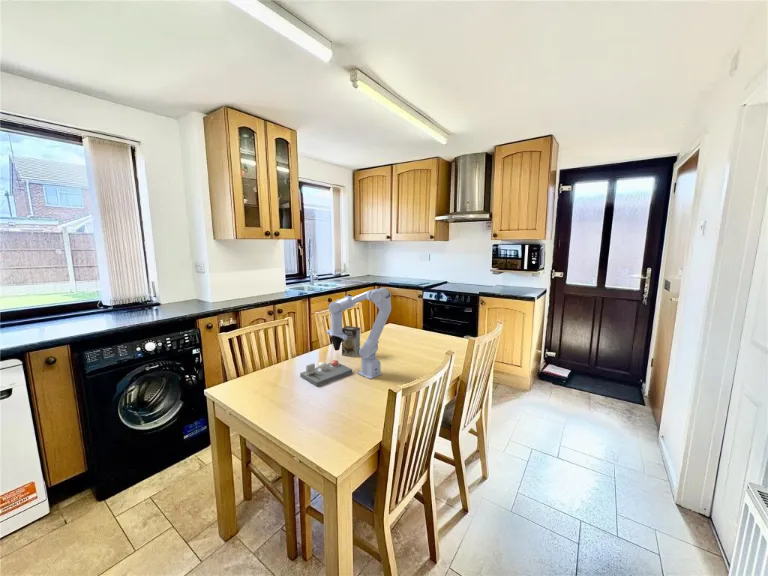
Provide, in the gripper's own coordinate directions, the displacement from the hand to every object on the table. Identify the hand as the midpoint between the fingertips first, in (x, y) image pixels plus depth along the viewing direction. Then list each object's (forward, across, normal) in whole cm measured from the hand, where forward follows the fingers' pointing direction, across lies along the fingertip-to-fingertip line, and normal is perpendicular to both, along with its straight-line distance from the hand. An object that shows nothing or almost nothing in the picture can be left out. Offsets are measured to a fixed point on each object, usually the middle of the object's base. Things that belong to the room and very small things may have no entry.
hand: (337, 349), depth 160 cm
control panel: (+10, +3, -9) cm, 14 cm away
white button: (+6, 0, -9) cm, 11 cm away
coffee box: (+10, -9, +17) cm, 22 cm away
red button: (+8, +1, -2) cm, 8 cm away
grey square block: (+7, +1, -16) cm, 18 cm away
